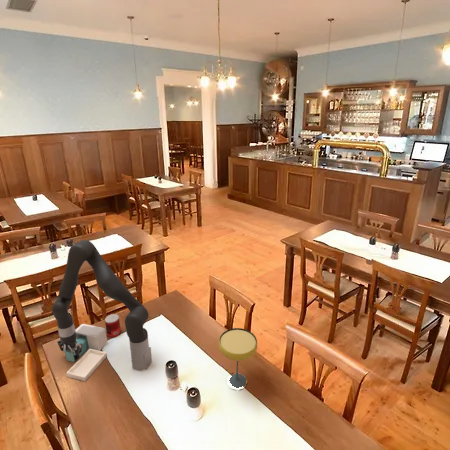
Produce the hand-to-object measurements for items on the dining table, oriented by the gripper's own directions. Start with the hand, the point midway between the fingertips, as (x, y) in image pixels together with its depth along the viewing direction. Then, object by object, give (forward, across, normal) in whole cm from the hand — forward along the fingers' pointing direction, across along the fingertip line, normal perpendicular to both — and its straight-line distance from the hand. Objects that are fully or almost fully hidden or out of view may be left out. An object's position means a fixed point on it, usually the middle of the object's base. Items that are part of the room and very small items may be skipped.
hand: (72, 357), depth 167 cm
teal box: (+1, 0, -5) cm, 5 cm away
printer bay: (+1, -2, -12) cm, 12 cm away
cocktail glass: (+1, -88, -11) cm, 89 cm away
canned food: (+1, -9, -24) cm, 26 cm away
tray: (+1, -11, +2) cm, 11 cm away
